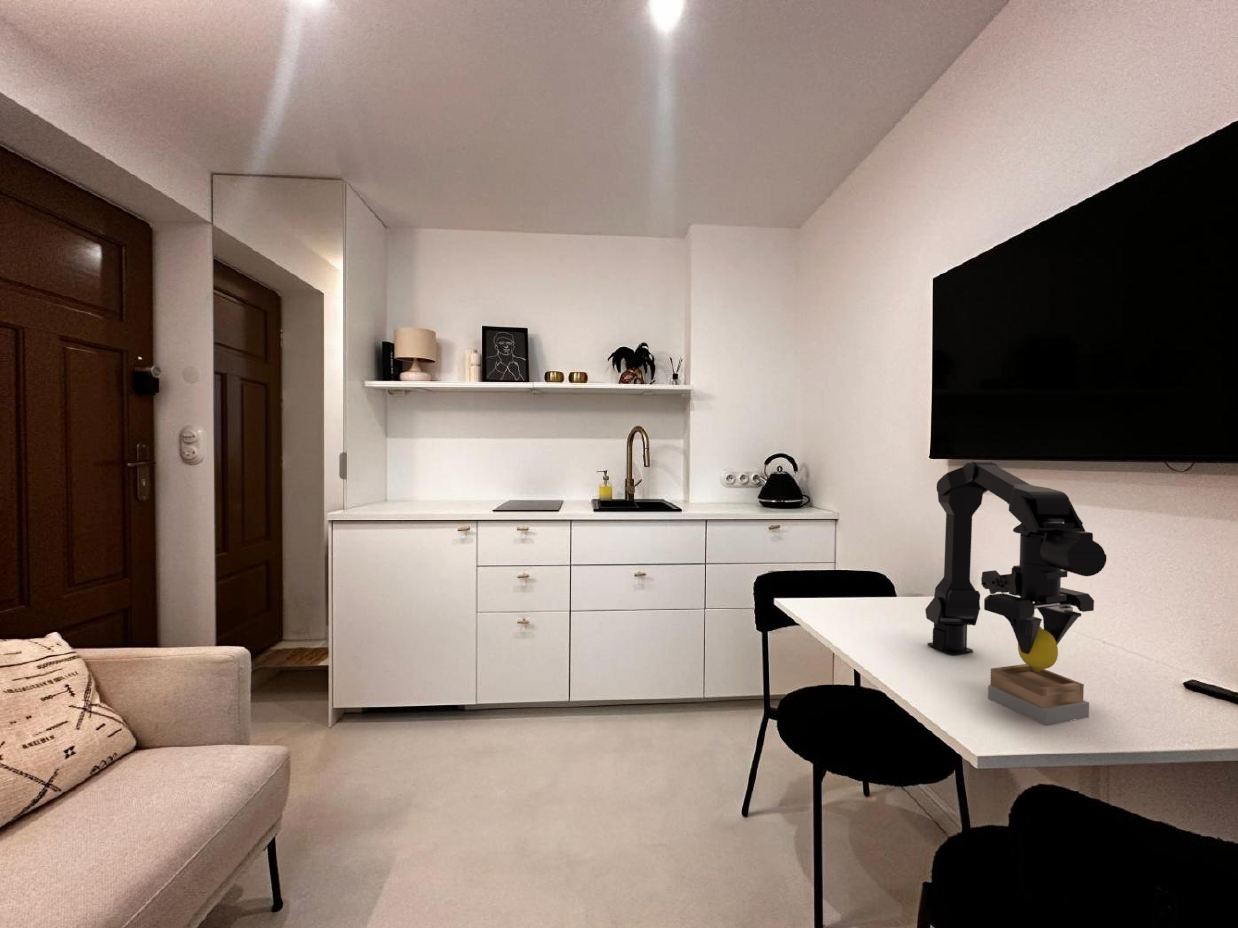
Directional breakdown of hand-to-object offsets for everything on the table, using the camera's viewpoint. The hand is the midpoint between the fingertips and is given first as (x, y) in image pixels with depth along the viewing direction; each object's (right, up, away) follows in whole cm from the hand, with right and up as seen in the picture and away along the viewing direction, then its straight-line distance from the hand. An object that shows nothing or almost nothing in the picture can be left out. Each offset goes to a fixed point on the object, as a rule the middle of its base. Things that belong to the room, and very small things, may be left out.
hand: (1037, 651), depth 94 cm
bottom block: (0, -11, 0) cm, 11 cm away
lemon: (0, -4, 0) cm, 4 cm away
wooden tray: (0, -8, 0) cm, 8 cm away
